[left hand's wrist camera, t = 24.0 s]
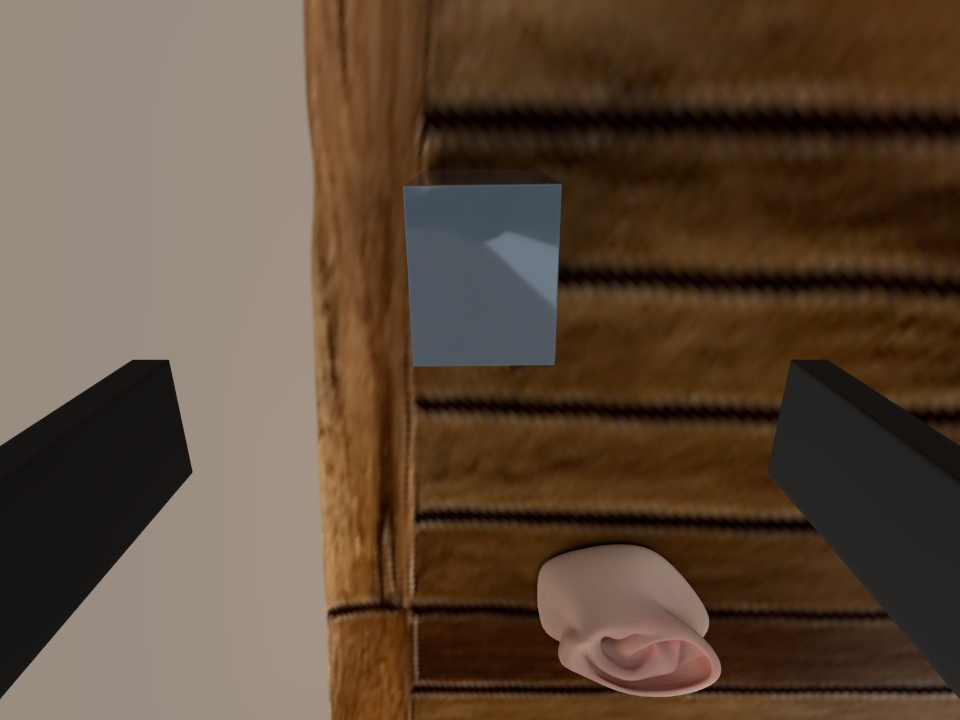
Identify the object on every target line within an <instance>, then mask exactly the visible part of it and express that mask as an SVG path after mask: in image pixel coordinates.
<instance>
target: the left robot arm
mask: <svg viewBox="0 0 960 720" xmlns="http://www.w3.org/2000/svg"><path fill="white" fill-rule="evenodd" d="M191 474H192V467H191V462H190V458H189V453H188V448H187V443H186V439H185V434H184V429H183V424H182V420H181V415H180V410H179V405H178V401H177V396H176V391H175V386H174V382H173V377H172V372H171V367H170V363H169V360H132V361H130V362H129V363H127V364H125V365H124V366H122V367H121V368H119V369H118V370H116V371H115V372H113V373H112V374H110V375H109V376H107V377H106V378H104V379H102V380H101V381H99V382H98V383H96V384H95V385H93V386H92V387H90V388H89V389H87V390H86V391H84V392H83V393H81V394H79V395H78V396H76V397H75V398H73V399H72V400H70V401H69V402H67V403H66V404H64V405H63V406H61V407H59V408H58V409H56V410H55V411H53V412H52V413H50V414H49V415H47V416H46V417H44V418H43V419H41V420H39V421H38V422H36V423H35V424H33V425H32V426H30V427H29V428H27V429H26V430H24V431H23V432H21V433H19V434H18V435H16V436H15V437H13V438H12V439H10V440H9V441H7V442H6V443H4V444H3V445H1V446H0V699H1V697H2V696H3V695H4V694H5V693H6V691H7V690H8V689H9V688H10V687H11V686H12V684H13V683H14V682H15V681H16V680H17V679H18V677H19V676H20V675H21V674H22V673H23V671H24V670H25V669H26V668H27V667H28V666H29V664H30V663H31V662H32V661H33V660H34V658H35V657H36V656H37V655H38V654H39V653H40V651H41V650H42V649H43V648H44V647H45V646H46V644H47V643H48V642H49V641H50V640H51V638H52V637H53V636H54V635H55V634H56V633H57V631H58V630H59V629H60V628H61V627H62V625H63V624H64V623H65V622H66V621H67V620H68V618H69V617H70V616H71V615H72V614H73V612H74V611H75V610H76V609H77V608H78V607H79V605H80V604H81V603H82V602H83V601H84V600H85V598H86V597H87V596H88V595H89V594H90V592H91V591H92V590H93V589H94V588H95V587H96V585H97V584H98V583H99V582H100V581H101V580H102V578H103V577H104V576H105V575H106V574H107V573H108V571H109V570H110V569H111V568H112V567H113V565H114V564H115V563H116V562H117V561H118V560H119V558H120V557H121V556H122V555H123V554H124V552H125V551H126V550H127V549H128V548H129V547H130V545H131V544H132V543H133V542H134V541H135V539H136V538H137V537H138V536H139V535H140V534H141V532H142V531H143V530H144V529H145V528H146V527H147V525H148V524H149V523H150V522H151V521H152V519H153V518H154V517H155V516H156V515H157V514H158V512H159V511H160V510H161V509H162V508H163V507H164V505H165V504H166V503H167V502H168V501H169V499H170V498H171V497H172V496H173V495H174V494H175V492H176V491H177V490H178V489H179V488H180V486H181V485H182V484H183V483H184V482H185V481H186V479H187V478H188V477H189V476H190V475H191ZM768 474H769V475H770V476H771V477H772V478H773V479H774V481H775V482H776V483H777V484H778V485H779V487H780V488H781V489H782V490H783V491H784V492H785V494H786V495H787V496H788V497H789V498H790V499H791V501H792V502H793V503H794V504H795V505H796V507H797V508H798V509H799V510H800V511H801V512H802V514H803V515H804V516H805V517H806V518H807V520H808V521H809V522H810V523H811V524H812V525H813V527H814V528H815V529H816V530H817V531H818V532H819V534H820V535H821V536H822V537H823V538H824V540H825V541H826V542H827V543H828V544H829V545H830V547H831V548H832V549H833V550H834V551H835V552H836V554H837V555H838V556H839V557H840V558H841V560H842V561H843V562H844V563H845V564H846V565H847V567H848V568H849V569H850V570H851V571H852V573H853V574H854V575H855V576H856V577H857V578H858V580H859V581H860V582H861V583H862V584H863V585H864V587H865V588H866V589H867V590H868V591H869V593H870V594H871V595H872V596H873V597H874V598H875V600H876V601H877V602H878V603H879V604H880V605H881V607H882V608H883V609H884V610H885V611H886V613H887V614H888V615H889V616H890V617H891V618H892V620H893V621H894V622H895V623H896V624H897V626H898V627H899V628H900V629H901V630H902V631H903V633H904V634H905V635H906V636H907V637H908V638H909V640H910V641H911V642H912V643H913V644H914V646H915V647H916V648H917V649H918V650H919V651H920V653H921V654H922V655H923V656H924V657H925V658H926V660H927V661H928V662H929V663H930V664H931V666H932V667H933V668H934V669H935V670H936V671H937V673H938V674H939V675H940V676H941V677H942V679H943V680H944V681H945V682H946V683H947V684H948V686H949V687H950V688H951V689H952V690H953V691H954V693H955V694H956V695H957V696H958V697H959V699H960V446H959V445H957V444H956V443H954V442H953V441H951V440H950V439H948V438H947V437H945V436H944V435H942V434H941V433H939V432H937V431H936V430H934V429H933V428H931V427H930V426H928V425H927V424H925V423H924V422H922V421H921V420H919V419H918V418H916V417H914V416H913V415H911V414H910V413H908V412H907V411H905V410H904V409H902V408H901V407H899V406H898V405H896V404H894V403H893V402H891V401H890V400H888V399H887V398H885V397H884V396H882V395H881V394H879V393H878V392H876V391H874V390H873V389H871V388H870V387H868V386H867V385H865V384H864V383H862V382H861V381H859V380H858V379H856V378H855V377H853V376H851V375H850V374H848V373H847V372H845V371H844V370H842V369H841V368H839V367H838V366H836V365H835V364H833V363H831V362H830V361H828V360H791V363H790V367H789V372H788V377H787V382H786V386H785V391H784V396H783V401H782V405H781V410H780V415H779V420H778V424H777V429H776V434H775V439H774V443H773V448H772V453H771V458H770V462H769V467H768Z"/></svg>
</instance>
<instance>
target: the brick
mask: <svg viewBox="0 0 960 720" xmlns="http://www.w3.org/2000/svg"><path fill="white" fill-rule="evenodd" d="M561 195H562V184H561V183H559V182H557V181H556V180H554V179H552V178H551V177H549V176H548V175H546V174H544V173H543V172H541V171H540V170H538V169H487V170H426V171H424V172H423V173H421V174H420V175H418V176H417V177H416V178H414V179H413V180H411V181H410V182H408V183H407V184H405V185H404V186H403V196H404V214H405V231H406V248H407V266H408V283H409V301H410V318H411V336H412V353H413V366H484V365H554V364H555V350H556V324H557V298H558V273H559V247H560V221H561Z"/></svg>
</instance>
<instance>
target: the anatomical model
mask: <svg viewBox="0 0 960 720" xmlns="http://www.w3.org/2000/svg"><path fill="white" fill-rule="evenodd" d="M537 602H538V610H539V615H540V620H541V624H542V626H543V628H544V630H545V631H546V632H547V633H548V634H549V635H550V636H551V637H553V638H554V639H556V640H558V641H560V645H559V650H558V655H559V659H560V661H561V663H562V664H563V665H564V666H565V667H566V668H568V669H570V670H572V671H574V672H576V673H578V674H580V675H583V676H585V677H587V678H589V679H591V680H593V681H596V682H598V683H600V684H602V685H604V686H607V687H609V688H612V689H614V690H617V691H620V692H624V693H627V694H632V695H638V696H652V697H662V696H676V695H682V694H687V693H691V692H695V691H698V690H700V689H703V688H705V687H707V686H709V685H711V684H713V683H714V682H715V681H716V680H717V679H718V678H719V676H720V673H721V665H720V661H719V659H718V657H717V655H716V653H715V652H714V650H713V649H712V648H711V646H710V645H709V644H708V643H707V642H706V641H705V640H704V638H703V637H704V635H705V634H706V632H707V630H708V626H709V618H708V614H707V612H706V609H705V607H704V605H703V604H702V602H701V600H700V599H699V597H698V596H697V594H696V593H695V592H694V590H693V589H692V588H691V586H690V585H689V584H688V583H687V581H686V580H685V579H684V578H683V577H682V576H681V574H680V573H679V572H678V571H677V570H676V569H675V568H674V567H673V566H672V565H671V564H670V563H669V562H668V561H667V560H665V559H664V558H663V557H662V556H660V555H659V554H657V553H656V552H654V551H652V550H650V549H647V548H644V547H641V546H636V545H626V544H615V545H602V546H596V547H590V548H584V549H580V550H575V551H571V552H568V553H564V554H561V555H558V556H556V557H554V558H552V559H550V560H549V561H547V562H546V563H545V564H544V565H543V566H542V568H541V570H540V573H539V577H538V584H537Z"/></svg>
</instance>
